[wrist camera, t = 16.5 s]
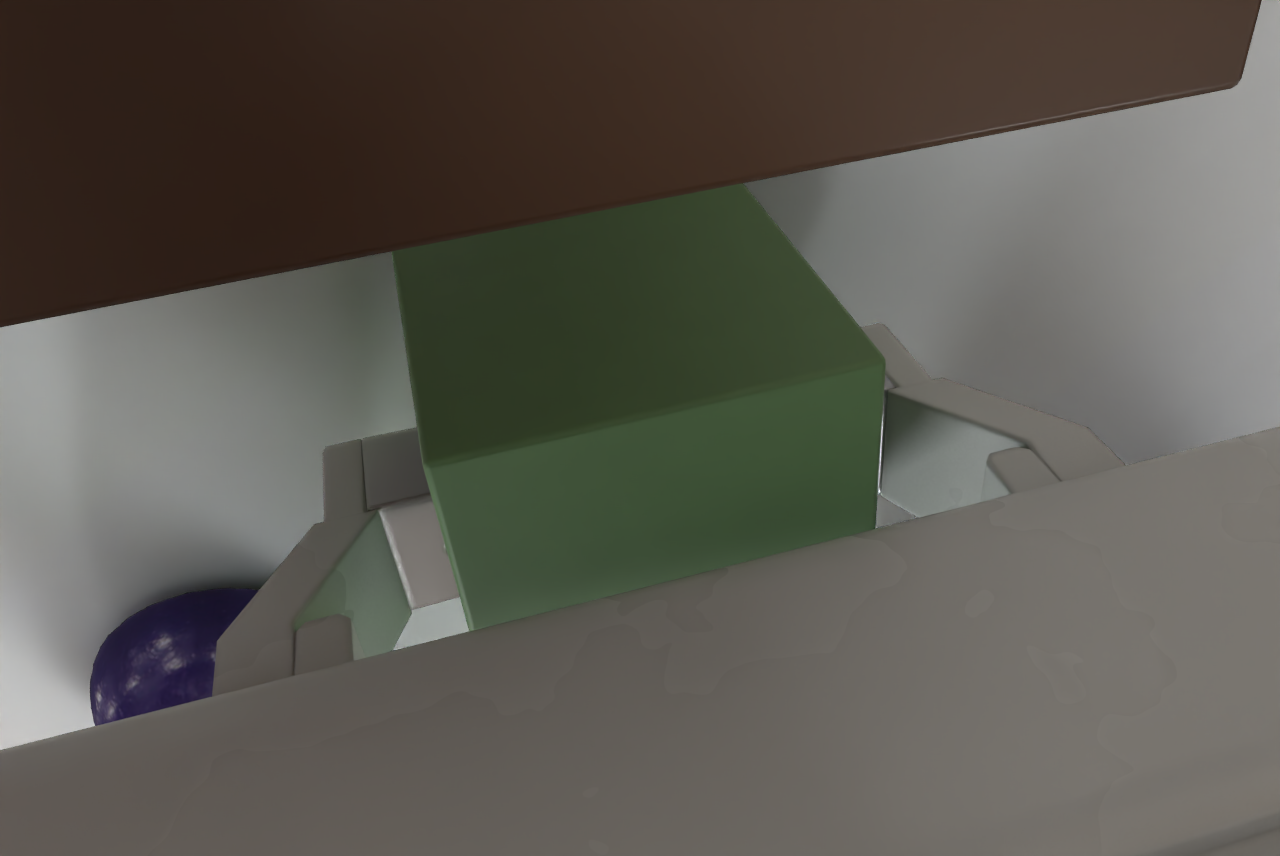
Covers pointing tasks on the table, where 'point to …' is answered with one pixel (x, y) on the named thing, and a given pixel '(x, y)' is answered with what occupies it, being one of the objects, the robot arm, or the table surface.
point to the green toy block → (633, 400)
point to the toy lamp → (163, 654)
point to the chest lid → (502, 114)
